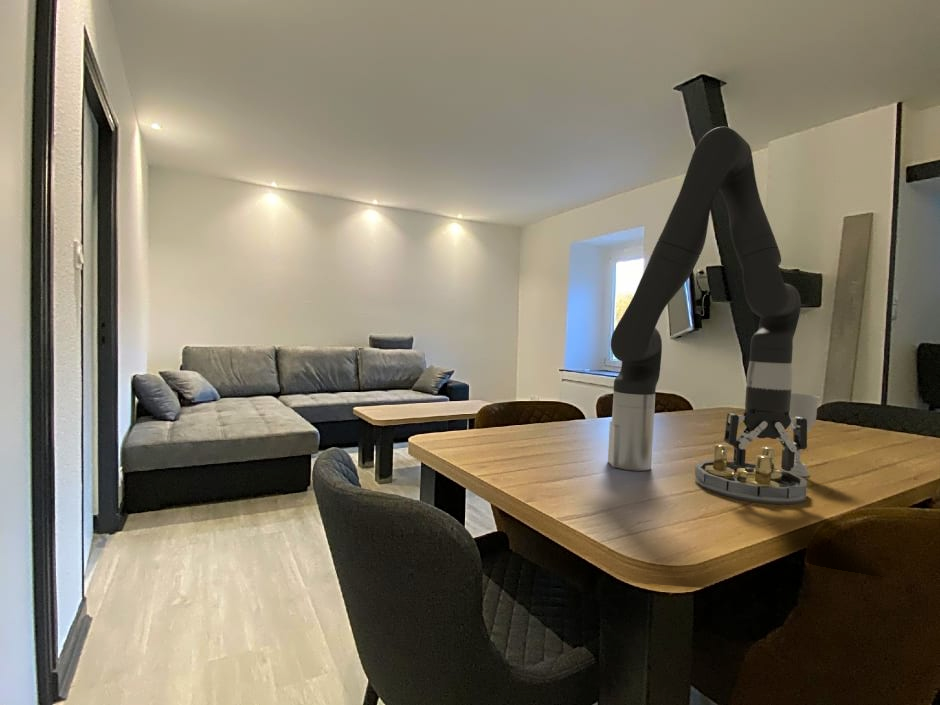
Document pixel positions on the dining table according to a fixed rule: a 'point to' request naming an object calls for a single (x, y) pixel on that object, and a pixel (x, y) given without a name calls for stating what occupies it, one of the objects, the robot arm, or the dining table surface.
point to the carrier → (732, 479)
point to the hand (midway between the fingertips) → (763, 468)
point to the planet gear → (762, 472)
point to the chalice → (808, 410)
